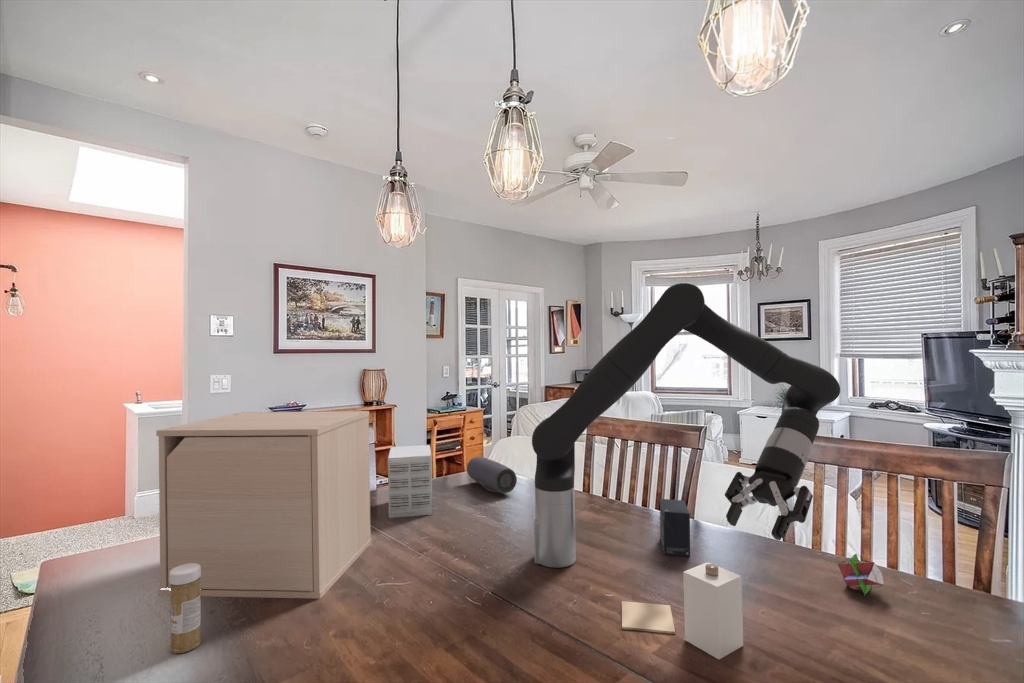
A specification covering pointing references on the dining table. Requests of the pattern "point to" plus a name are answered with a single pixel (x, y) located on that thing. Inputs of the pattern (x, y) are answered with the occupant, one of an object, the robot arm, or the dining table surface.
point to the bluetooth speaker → (492, 475)
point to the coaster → (647, 617)
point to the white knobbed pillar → (713, 609)
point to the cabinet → (265, 501)
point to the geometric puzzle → (861, 574)
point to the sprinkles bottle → (185, 607)
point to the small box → (674, 527)
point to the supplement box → (410, 481)
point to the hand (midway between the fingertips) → (752, 530)
